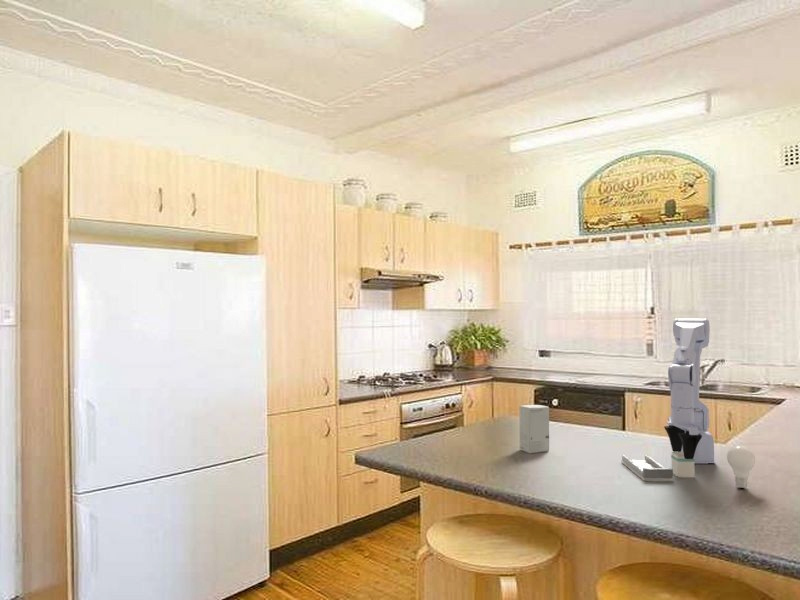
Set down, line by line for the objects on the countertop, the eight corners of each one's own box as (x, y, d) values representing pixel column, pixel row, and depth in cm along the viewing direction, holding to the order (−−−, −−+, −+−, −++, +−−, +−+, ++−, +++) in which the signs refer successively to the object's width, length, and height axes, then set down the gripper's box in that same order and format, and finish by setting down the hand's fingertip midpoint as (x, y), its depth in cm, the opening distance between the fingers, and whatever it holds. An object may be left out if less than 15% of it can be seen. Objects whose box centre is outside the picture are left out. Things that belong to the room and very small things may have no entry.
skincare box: (529, 454, 177) (529, 408, 178) (518, 449, 183) (518, 405, 183) (550, 451, 181) (550, 406, 181) (539, 446, 186) (538, 403, 186)
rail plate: (648, 462, 167) (648, 452, 167) (674, 481, 149) (673, 469, 149) (621, 462, 167) (621, 451, 167) (643, 481, 149) (643, 469, 149)
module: (688, 473, 156) (687, 452, 156) (694, 477, 152) (694, 455, 152) (671, 472, 157) (671, 451, 157) (677, 477, 153) (677, 455, 153)
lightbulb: (756, 494, 138) (755, 450, 139) (727, 489, 142) (726, 447, 142) (755, 487, 144) (755, 445, 144) (727, 483, 147) (726, 442, 147)
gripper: (657, 402, 162) (657, 448, 162) (678, 411, 148) (679, 461, 147) (681, 402, 162) (682, 448, 161) (705, 411, 147) (706, 462, 147)
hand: (682, 455), depth 154 cm, fingers open, 7 cm apart
